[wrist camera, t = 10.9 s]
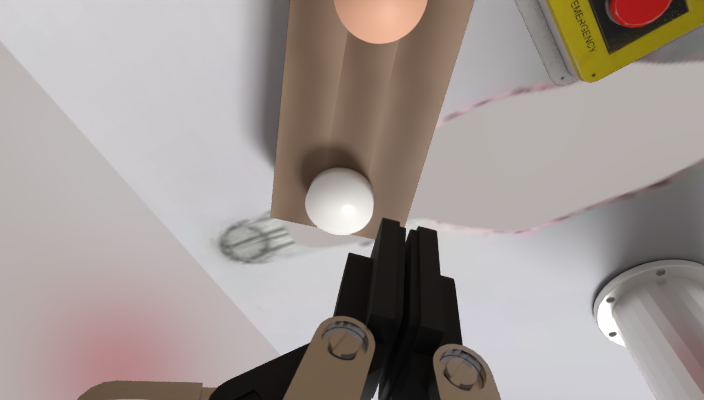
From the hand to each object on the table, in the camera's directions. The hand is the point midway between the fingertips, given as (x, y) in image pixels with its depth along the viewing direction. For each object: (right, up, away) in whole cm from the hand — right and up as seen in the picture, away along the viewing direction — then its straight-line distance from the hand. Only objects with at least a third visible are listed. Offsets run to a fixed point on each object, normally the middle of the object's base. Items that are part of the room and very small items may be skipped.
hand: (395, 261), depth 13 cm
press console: (0, +12, +24) cm, 27 cm away
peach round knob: (+1, +18, +18) cm, 25 cm away
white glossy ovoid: (-2, +5, +27) cm, 28 cm away
